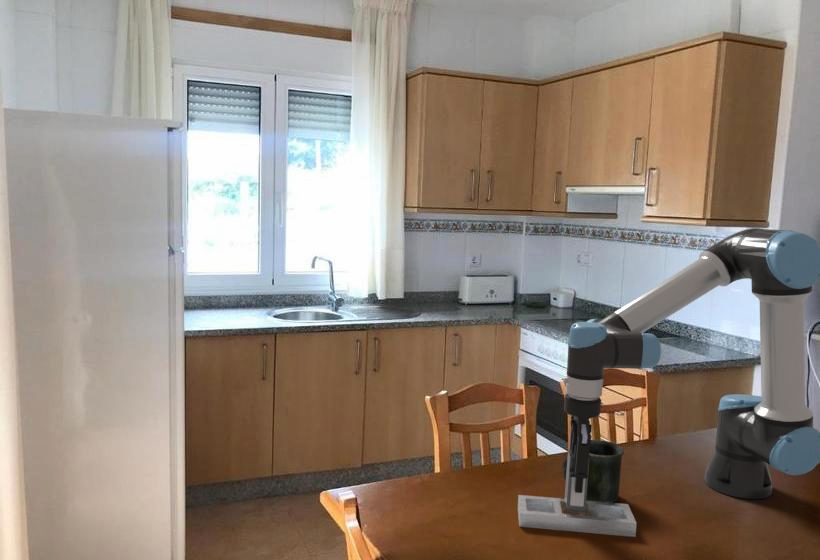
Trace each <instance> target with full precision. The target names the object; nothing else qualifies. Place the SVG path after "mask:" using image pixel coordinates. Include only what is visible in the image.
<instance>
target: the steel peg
mask: <svg viewBox="0 0 820 560" xmlns="http://www.w3.org/2000/svg"><path fill="white" fill-rule="evenodd" d="M574 451H575V450H570V449H568V450H567V457H566V459H567V472H566V480H565V488H564V498H563V499H564V503H565V508H566V511H576V512H585V510H586V497H587V484H588V477H587V479H585V492H584V505H583V507H582V506H571V505H570V498H571V484H572V477H570V473H571V474H573V473H574ZM588 471H589V463H588Z"/></svg>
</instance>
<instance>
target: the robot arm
mask: <svg viewBox="0 0 820 560" xmlns="http://www.w3.org/2000/svg"><path fill="white" fill-rule="evenodd" d="M698 257H699V258H698V259H697V260H695V261H694V262H692V263H690V264H689V265H687V266H686V267H684V268H683V269H681V270H679V271H678V272H675V274H673V275H672V276H670V277H668V278H666V279H665V280H663V281H662V282H660V283H659V284H656V285H655V286H653V287H652V288H650V289H649V290H647V291H646V292H644V293H642V294H641V295H639V296H638V297H636V298H634V299H633V300H632V301H630V302H627V304H625V305H623V306H622V307H619V308H618V309H617V310H615V311H614V312H612V313H611V314H608V315H607V316H606V317H604V318H590V319H589V320H587V321H577V322H575V323H572V325H571V326H570V329H569V335H568V342H567V346H568V347H567V362H566V363H567V364H566V365H567V366H566V378H563V380H562V381H563V383H564V384H565V393H566V394H565V395H564V405H563V411H564V412H565V413H566V414H567V415H568V416H570V423H569V425H570V436H569V437H570V438H569V450H575V451H574V473H573V474H571V473H570V477H572V484H571V498H570V505H571V506H582V507H583V505H584V492H585V479H587V477H588V463H589V451H590V442H591V440H592V434H591V433H592V430H593V429H592V427H593V426H592V424H591V422H590V419H592V418H593V419H594V418H597V417H599V416H600V415H601V407H602V406H601V405H602V399H601V396H603V385H604V373H605V372H604V371H605V369H633V370H634V369H635V370H636V369H638V370H642V369H650V368H651V369H652V368H655V367H656V366H657V365H658V364H659V363H660V359H661V354H662V347H661V343H660V340H659V338H658V336H656V335H655V334H653V333H650V332H649V333H646V331H648V330H649V329H651V328H653V327H655V326H656V325H657V324H660V323H661V322H662V321H664V320H666V319H667V318H669V317H670V316H672V315H673V314H675V313H677V312H679V311H680V310H682V309H683V308H685V307H687V306H688V305H689V304H691V303H693V302H695V301H696V300H698V299H699V298H701V297H703V296H704V295H707V293H709V292H711V291H712V290H714V289H716V288H718V287H726V286H729V285H730V284H732V283H733V282H736V281H740V280H745V279H747V280H748V279H750V280H751V282H750V283H751V294H752V295H754V296H755V297H756V298H757V299H758V301H759V330H760V331H759V335H760V336H759V337H760V338H759V339H760V345H759V346H760V389H761V390H760V391H761V395H760V396H759V395H754V394H753V395H752V394H739V393H738V394H736V393H735V394H733V393H732V394H726V395H724V396H722V397H721V398H720V401H719V404H718V409H717V411H718V412H717V421H716V422H717V424H716V436H715V445H714V447H715V448H714V452H713V455H712V456H711V459H710V461H709V463H708V465H707V467H706V469H705V472H704V483H706V485H707V486H708V487H710V489H713V490H714V491H717V492H719V493H721V494H725V495H727V496H731V497H734V498H739V499H745V500H760V499H761V500H762V499H767V498H769V497H770V496H771V495H772V492H773V482H772V477H771V472H770V469H769V465H770V466H771V467H772V468H773V469H774V470H777V471H780V472H783V473H784V474H786V475H790V476H800V475H804V474H807V473H809V472H811V471H812V470H813V469H815V468H816V466H817V465H819V464H820V430H819V429H816V428H814V412H813V410H812V409H810V408H809V407H808V405H806V388H805V386H806V381H805V378H806V376H805V375H806V373H805V370H806V368H805V360H806V359H805V299H806V298H807V297H809V296H810V295H811V294H812V293H813V285H814V284H816V283H817V282H819V279H820V244H819V242H818V241H817V240H815V238H813V237H812V236H810V235H809V234H806V233H804V232H798V231H793V230H790V229H789V230H787V229H769V228H767V229H766V228H760V227H759V228H758V227H757V228H755V227H753V228H747V229H742V230H740V231H737V232H735V233H732V234H730V235H729V236H727V237H726V238H723V239H722V240H720V241H717V242H716V243H714V244H712V245H711V246H709V247H708V248H706V249H704V250H703V251H701V252H700V254H699V256H698Z"/></svg>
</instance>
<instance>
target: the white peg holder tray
mask: <svg viewBox="0 0 820 560" xmlns="http://www.w3.org/2000/svg"><path fill="white" fill-rule="evenodd" d="M517 496H518V499H517V513H518V514H517V515H518V516H517V517H518V525H519V528H521V527H522V528H531V529H541V530H542V529H545V530H554V531H564V532H565V531H566V532H576V533H577V532H578V533H585V534H586V533H587V534H597V535H598V534H599V535H608V536H609V535H610V536H621V537H631V538H632V537H633V538H636V537H637V524H638V523H637V521H636V518H635V516H634V514H633V512H632V510H631V508H630V506H629V504H628V503H617V502H614V503H608V502H596V501H586V510H585V512H576V511H566V508H565V503H564V499H565V498H561V497H560V498H559V497H549V496H537V495H525V494H523V495H522V494H518V495H517Z"/></svg>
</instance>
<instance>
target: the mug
mask: <svg viewBox="0 0 820 560" xmlns="http://www.w3.org/2000/svg"><path fill="white" fill-rule="evenodd" d="M624 453H625V450H624V448H623V447H622V446H621V445H619V444H616V443H615V442H610V441H607V440H602V439H591V442H590V451H589V471H588V484H587V497H586V501H596V502H608V503H616V501H618V499H619V494H620V481H621V472H622V471H621V470H622V469H621V468H622V458H623V455H624ZM561 466H562V467H561V469H562V477H563V478H564V480H565V481H566V472H567V458H565V460H564V461H563V462H562V465H561Z"/></svg>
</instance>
